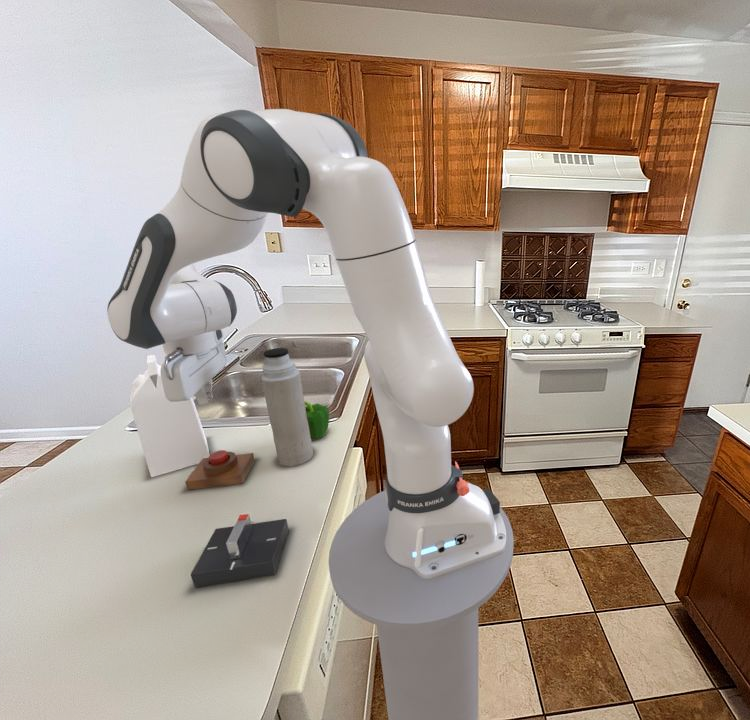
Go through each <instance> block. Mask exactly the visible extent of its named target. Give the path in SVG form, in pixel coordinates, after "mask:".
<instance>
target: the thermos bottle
mask: <svg viewBox="0 0 750 720" xmlns="http://www.w3.org/2000/svg"><path fill="white" fill-rule="evenodd" d="M263 356H264V358H265V364H264V365H263V366H262V375H261V376H260V379H261V384H262V389H263V394H264V398H265V404H266V408H267V409H266V410H267V414H268V418H269V424H270V427H271V430H272V437H273V442H274V447H275V452H276V456H277V462H278V463H279V464H280V465H281V466H283V467H295V466H298V465H302V464H304V463H307V462H308V461H309V460H310V459H312V457H313V455H314V449H313V443H312V440H311V437H310V431H309V425H308V420H307V415H306V408H305V407H306V405H305V401H306V400H305V396H304V389H303V384H302V378H301V373H300V370H299V369H297V368H296V367H297V365H296V363H295V361H293V360H291V358H290V355H289V349H288V348H285V347H276V348H271V349H267V350H265V351H264V352H263Z"/></svg>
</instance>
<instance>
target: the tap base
mask: <svg viewBox="0 0 750 720" xmlns="http://www.w3.org/2000/svg"><path fill="white" fill-rule="evenodd" d="M251 524H252V528H253V531H252V533H251V535H250V538H249V540H248V543H247V545H246V547H245V550H244V552H243V554H242V557H241V558H238V559H230V556H229V552H228V549H227V545H226V542H227V540H228V538H229V536H230V534H231V532H232V530H233V528H234V526H235V525H233V526H232V525H231V526H226V527H218V528H215V529H214V531H213V533H212V534H211V537H210V538H209V540H208V542H207V544H206V545H205V547H204V549H203V550H202V553H201V554H200V556H199V557H198V560H197V562H196V564H195V565H194V567H193V569H192V571H191V573H190V577H191V580H192V583H193V586H194V589H200V588H204V587H212V586H216V585H217V586H218V585H223V584H230V583H234V582H236V583H237V582H240V581H241V582H242V581H246V580H247V581H248V580H252V579H260V578H266V577H272V576H275V575H276V573H277V570H278V567H279V565H280V564H279V563H280V561H281V558H282V554H283V551H284V548H285V545H286V542H287V538H288V535H289V532H290V530H289V524H288V520H287V518H283V519H276V520H275V519H274V520H268V521H267V520H266V521H260V522H254V521H252V520H251Z"/></svg>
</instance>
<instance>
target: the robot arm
mask: <svg viewBox="0 0 750 720" xmlns="http://www.w3.org/2000/svg"><path fill="white" fill-rule="evenodd" d="M368 155H369V154H368V150H367V147H366V144H365V142H364V139H363V138H362V136H361V134H360V133H359V132H358V131H357V129H356V128H355V127H354V126H353V125H352V124H350V123H349V122H348V121H346V120H344V119H342V118H340V117H337V116H334V115H331V114H329V113H310V112H307V111H306V112H305V111H298V110H296V111H295V110H292V109H289V108H267V109H266V108H265V109H259V110H258V109H257V110H246V109H235V110H231V111H227V112H224V113H222V112H218V113H211V114H209V115H207V116H206V117H204V118H203V119H201V121H200V122H199V123H198V125H197V127H196V130H195V131H194V133H193V135H192V138H191V140H190V143H189V145H188V149H187V152H186V155H185V158H184V161H183V166H182V170H181V177H180V183H179V185H178V188H177V190H176V191H175V193H174V195H173V196H172V198H171V199H170V201H169V202H168V203H167V204H166V205H165V206H164V207H163V208H162V209H161V210H159V211H158V213H155V214H153V215H152V216H151V217H148V219H146V221H145V222H144V223H143V225H142V226H141V229H140V231H139V233H138V236H137V239H136V241H135V243H134V245H133V249H132V251H131V254H130V257H129V259H128V263H127V265H126V268H125V271H124V274H123V276H122V279H121V282H120V285H119V287H118V288H117V290H116V291H115V292H114V294H113V295H112V296H111V297H110V299H109V301H108V303H107V311H106V312H107V319H108V323H109V325H110V327H111V329H112V332H113V333H114V335H115V336H116V337H117V338H118V339H119V340H120V341H122V342H124V343H126V344H129V345H131V346H134V347H137V348H142V349H145V350H149V349H151V348H155V347H158V346H161V345H162V349H163V352H164V354H165V356H164V362H163V363H162V364H161V365H160V366H161V379H162V385H163V389H164V393H165V397H166V399H167V400H169V401H170V402H179V401H187V400H189V399H190V398H191V397H195V398H196V400H197V404H198V405H200V406H205V405H208V404H209V403H210V402H211V401H212V400H213V398H214V395H213V383H214V382H213V378H214V377H215V376H217V374H219V373H220V372H221V371H222V370H223V369H224V368H225V367H226V366H227V361H228V359H227V353H226V349H225V348H226V347H225V343H224V340H223V338H224V331H223V329H225V328H227V327H230V326H231V325H232V324H233V323H234V321H235V319H236V316H237V313H238V305H237V302H236V299H235V295H234V293H233V292H232V289H230V288H229V287H227V286H226V285H224V284H223V283H221V282H220V281H217V280H211V279H210V278H207V277H205V276H204V275H202V274H201V273H200V272H199V271H198V270H197V269H196V266H195V265H194V264H196V263H199V262H201V261H204V260H208V259H212V258H216V257H219V256H223V255H227V254H231V253H234V252H238V251H241V250H243V249H245V248H246V247H248V246H249V245H251V244H253V242H254V241H255V240H256V239H257V237H259V235H260V233H261V231H262V230H263V228H264V225H265V223H266V220H267V217H268V214H276V215H280V216H285V217H291V218H297V216H298V215H299V214H300V213H301V212H302V210H304V211H307V212H309V213H311V214H312V215H314V216H315V217H316V218H317V219H318V220H319V222H320V223H321V225H322V226H323V228H324V230H325V232H326V235H327V237H328V241H329V243H330V247H331V250H332V253H333V256H334V258H335V261H336V264H337V268H338V270H339V273H340V275H341V279H342V281H343V284H344V287H345V289H346V292H347V296H348V298H349V301H350V303H351V307H352V309H353V311H354V314H355V317H356V318H357V320H358V322H359V323H360V326H361V327H362V329H363V332H364V334H365V335H366V337H367V342H366V343H365V347H364V353H363V354H364V355H363V356H364V357H363V358H364V362H365V365H366V368H367V372H368V377H369V381H370V387H371V391H372V397H373V400H374V406H375V409H376V413H377V417H378V421H379V426H380V429H381V434H382V438H383V446H384V454H385V456H384V457H385V464H386V465H385V466H386V474H385V481H384V490H385V491H386V500H387V504H388V508H389V520H388V528H387V532H386V536H385V541H384V544H385V549H386V552H387V554H388V555H389V557H390V558H391V559H392V560H393V561H395V562H396V563H398V564H399V565H402V566H404V567H407V568H410V569H412V570H413V571H414V572H415V573H416V574H417V575H418V576H420V577H421V578H422V579H425V580H428V579H432V578H435V577H437V576H440V575H443V574H446V573H449V572H452V571H454V570H457V569H460V568H463V567H466V566H468V565H471V564H474V563H477V562H480V561H483V560H485V559H488V558H491V557H494V556H497V555H499V554H502V553H503V552H504V550H505V547H506V541H507V538H506V529H505V525H504V522H503V519H502V517H501V515H500V507H501V501H499V499H498V498H497V496H496V495H495V494H494V492H493V491H492V490H491V489H490V488H489V487H487V488H485V489H481V487H480V486H478V485H475V484H473V483H471V482H469V481H466V480H465V479H464V474H463V470H461V469H460V466H459V464H458V462H457V461H456V460H455V461H454V464H455V465H453V464H452V445H451V443H452V442H451V440H452V439H451V438H452V437H451V433H450V432H451V431H450V427H449V425H451V424H453V423H455V422H456V421H458V420H459V419H461V417H463V416H464V415H465V414H466V412H467V410H468V409H469V407H470V405H471V403H472V401H473V397H474V392H475V391H474V390H475V388H474V387H475V386H474V381H473V377H472V375H471V373H470V372H469V370H468V369H467V367H466V366H465V364H464V363H463V361H462V359H461V358H460V356H459V354H458V352H457V351H456V348H455V346H454V344H453V341H452V339H451V337H450V334H449V331H448V330H447V327H446V325H445V323H444V321H443V319H442V316H441V315H440V312H439V310H438V308H437V306H436V303H435V301H434V299H433V296H432V293H431V290H430V287H429V284H428V281H427V280H428V279H427V276H426V273H425V269H424V265H423V261H422V257H421V253H420V250H419V247H418V242H417V238H416V235H415V231H414V228H413V224H412V221H411V217H410V215H409V212H408V209H407V207H406V204H405V201H404V199H403V197H402V195H401V192H400V190H399V189H400V188H398V185H397V183H396V181H395V178H394V176H393V174H392V173H391V171H390V169H389V168H388V167H387V166H386V165H385V164H383V163H382V162H380V161H379V160H376V159H374V158H372V157H369V156H368ZM432 569H435V570H432Z"/></svg>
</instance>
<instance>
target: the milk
mask: <svg viewBox="0 0 750 720" xmlns="http://www.w3.org/2000/svg"><path fill="white" fill-rule="evenodd" d="M146 366H147V369H145V371H144V372H143V373H142V374H141V373H138V375H137V376H136V377H135V378H134V380H133V381H132V383H131V385H132V387H131V389H130V394H129V405H130V410H131V413H132V417H133V420H134V423H135V424H134V425H135V427H136V431H137V434H138V437H139V440H140V444H141V448H142V451H143V454H144V459H145V462H146V465H147V468H148V471H149V475H150V478H155V477H158V476H161V475H164V474H168V473H171V472H175V471H178V470H181V469H184V468H189V467H192V466H194V465H198V464H199V463H200V462H201V460H202V459H203V458H208V457H209V455H210V450H209V446H208V440H207V436H206V433H205V431H204V428H203V424H202V422H201V419H200V416H199V413H198V410H197V407H196V404H195V400H194V398H193V397H194V396H192V397H191V398H190V399H189V400H187V401H179V402H170V401H169V400H167V399H166V397H165V393H164V389H163V385H162V379H161V366H162V365H161V364H159V363H158V359H157V357H156V354H150V355H147V358H146Z"/></svg>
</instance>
